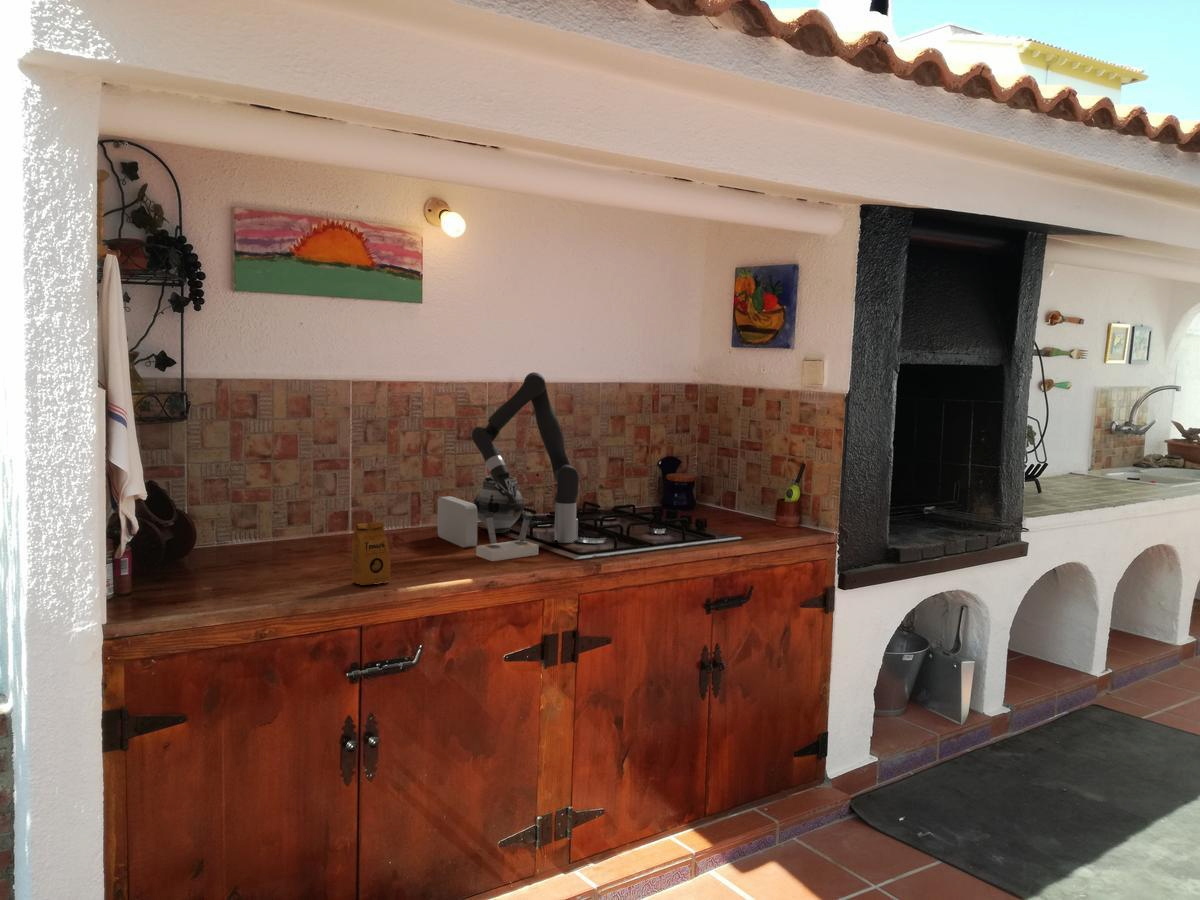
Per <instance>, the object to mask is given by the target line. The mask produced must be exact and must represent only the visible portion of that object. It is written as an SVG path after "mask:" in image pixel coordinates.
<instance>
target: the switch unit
mask: <svg viewBox="0 0 1200 900" xmlns="http://www.w3.org/2000/svg"><path fill="white" fill-rule="evenodd" d="M475 547H476V550H475V551H476V553H475V554H476V557H479V558H482V559H485V560H487V561H490V562H497V561H503V560H510V559H517V558H518V559H519V558H525V557H526V558H527V557H530V556H537V555H538V556H539V544H537V543H534V542H529V541H527V540H525V541H521V542H520V541H519V540H518V539H517V540H509V541H505V542H504V541H503V542H497V543H495V544H490V543H487V544H486V543H485V544H482V545H476V546H475Z"/></svg>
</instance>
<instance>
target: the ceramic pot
mask: <svg viewBox="0 0 1200 900" xmlns="http://www.w3.org/2000/svg"><path fill="white" fill-rule="evenodd" d="M509 478H510V480H511V481H512V483H513V484H517V492H516V494H514V497H515V499H516V501H517V503H516V504H515V505H511V503H510V502H509V500H508V498H507V497H506V496H503V495H502V494H501V493H500V492H499V491H498V490H497V489H496V488H495V487H494V486H495V485H496V484H497V483H496V482H494V481H493V479H492V477H491V475H487V476H486V477H485V479H484V480H483V482H482V488H481V490H479V491H478V493H477V494H476V495H475V497H474V500H473V504H475V505H476V507H477V519H479V521H480V522H481V523H482V525H484V526H485V527H486V529H487V532H488V527H487V521H486V519H484V514H485V513H488V512H493V514H494V517H492V518H493V524H494V530H495V534H496V533H497V534H498V533H499V534H500V533H501V534H503V533H504V534H505V533H508V532H510V530H511V529H510V528H511V527H512V526H513V525H514V524H515V523H516V522H517V521H518V520H519V518H520V516H521V515H522V514H523V513H524V512H523V511H524V509H525V501H524V498H523V496H522V494H521V492H520V491H519V489H518V480H517V478H516V477H513V476H509ZM507 531H508V532H507Z"/></svg>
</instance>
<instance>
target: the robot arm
mask: <svg viewBox="0 0 1200 900" xmlns="http://www.w3.org/2000/svg"><path fill="white" fill-rule="evenodd" d="M529 402H531V403H532V404H531V405H533V406H532V407H533V409H534V410H533V411H534V415H535V421H536V424H537V425H536V426H537V428H538V432H539V434H540V438H541V440H542V442H543V445H544V448H545V450H546V452H547V454H548V455H547V456H549V457H548V458H549V460H550V465H551V468H552V473H553V478H554V480H555V482H556V483H557V485H556V486H557V488H556V489H557V490H556V494H555V499H554V502H555V504H554V507H555V508H554V541H555V540H557V541H558V542H557V543H560V544H569V543H575V542H576V541H575V540H579V539H578V538H579V535H578V534H579V533H578V531H579V519H578V518H577V498H578V494H579V473H578V471H577V469H576V468H575V467H573V466H571V463H570V461H569V458H568V457H567V454H566V449H565V441H564V433H563V431H562V428H561V424H560V422H559V418H558V417H557V414H556V412H555V410H554V408H553V406H552V404H551V401H550V398H549V395H548V390H547V385H546V380H545V378H544V376H543V375H542V374H540V373H538V372H530V373H529V374H527V375H526V376H525V377H524V380H523V383H522V384H521V386H520V387H519V388H518V390H517V391H516V392H515V394H513V395H512V396H511V397H510V398H509V399H507V400H506V401H505V402H504V403H503V404H502V405H501V406H499V407H498V408H497V410H495V411H494V412H493V413H492V414H491V415H490V417H488V420H487V421H488V424H487V426H485V427H483V426H476V427H474V428H473V430H472V432H471V438H472V441H473V443H474V445H476V448H477V449H478V450H479V452H480V453H481V455H482V458H483V459H484V462H485V464H486V467H487V470H488V472H489V474H490V476H491V477H492V479H493V481H494V482H496V483H497V484H496V485H495V486H494V487H495V488H496V489H497V490H498V491H499V492H500V493H501V494H502V495H503V496H506V497H507V498H508V500H509V502H510V503H511V505H515V504H516V503H517V501H516V499H515V497H514V494H516V492H517V484H513V483H512V481H511V480H510V478H509V477H511V472H510V471H509V469H508V467H507V465H506V462H505V461H504V458H503V457H502V455H501V453H500V451H499V449H498V447H497V446H496V445H495V444H494V443H493V442H494V441H495V439H496V438H497V436H498V435H499V434H500V432H501V430H502V428H504V427H505V426H506V425H507V424H508V423H509V422H510V421H511V420H512V419H513V418H514V417H515V415H517V413H518V412H519V411H520V410H521V409H522V408H523V407H525V405H527V404H528V403H529ZM574 541H575V542H574Z"/></svg>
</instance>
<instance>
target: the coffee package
mask: <svg viewBox="0 0 1200 900" xmlns="http://www.w3.org/2000/svg"><path fill="white" fill-rule="evenodd" d="M384 526H385V522H384V520H383V521H374V522H363V523H355V525H354V528H353V535H352V541H351V582H352V581H353V582H354V583H353V584H355V583H356V585H357V584H360V585H366V584H374V583H379V582H386V581H389V582H390V580H391V559H390V547H389V543H388V539H387V536H386V532H385V528H384ZM360 585H359V586H360Z"/></svg>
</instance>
